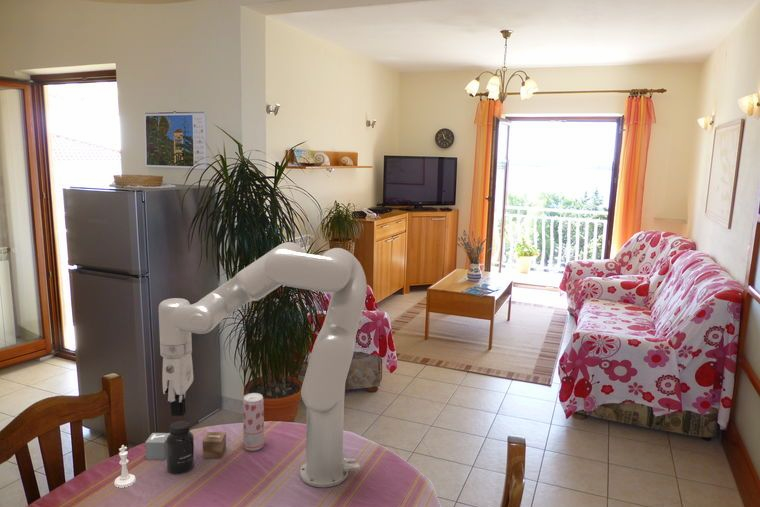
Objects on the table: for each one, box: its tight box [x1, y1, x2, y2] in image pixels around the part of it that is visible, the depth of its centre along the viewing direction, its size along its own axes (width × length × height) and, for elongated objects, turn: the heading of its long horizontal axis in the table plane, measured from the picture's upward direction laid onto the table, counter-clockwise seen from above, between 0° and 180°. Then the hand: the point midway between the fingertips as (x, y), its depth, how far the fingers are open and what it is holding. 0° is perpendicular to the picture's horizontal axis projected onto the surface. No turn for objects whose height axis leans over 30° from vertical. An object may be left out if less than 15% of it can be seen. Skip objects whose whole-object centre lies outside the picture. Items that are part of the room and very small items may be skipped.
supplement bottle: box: [166, 420, 195, 475], centre depth 144 cm, size 7×7×12 cm
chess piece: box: [114, 444, 137, 489], centre depth 137 cm, size 5×5×10 cm
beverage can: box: [242, 392, 265, 452], centre depth 155 cm, size 6×6×15 cm
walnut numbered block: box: [202, 431, 227, 459], centre depth 152 cm, size 5×5×5 cm
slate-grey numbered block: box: [144, 432, 170, 460], centre depth 150 cm, size 5×5×5 cm
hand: (178, 414), depth 142 cm, fingers closed
